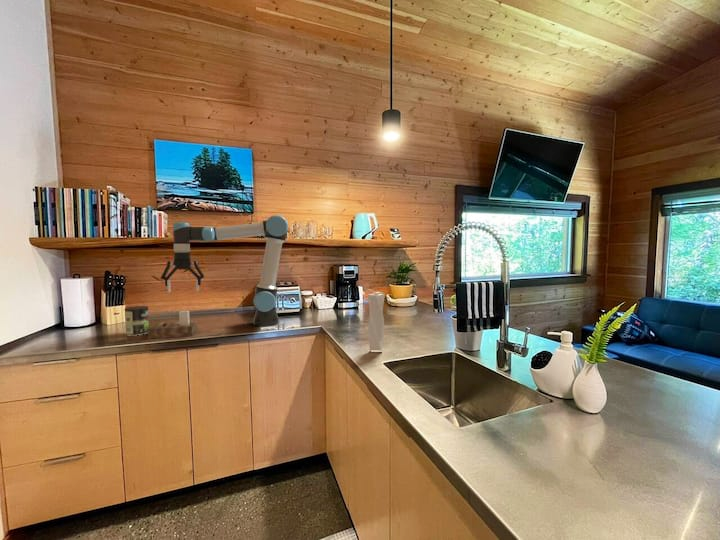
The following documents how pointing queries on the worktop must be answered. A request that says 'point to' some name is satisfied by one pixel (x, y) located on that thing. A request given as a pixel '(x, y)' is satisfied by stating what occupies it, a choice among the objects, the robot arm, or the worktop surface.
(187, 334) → the socket block
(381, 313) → the skyscraper
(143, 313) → the coffee can
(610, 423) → the worktop surface
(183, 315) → the square peg
